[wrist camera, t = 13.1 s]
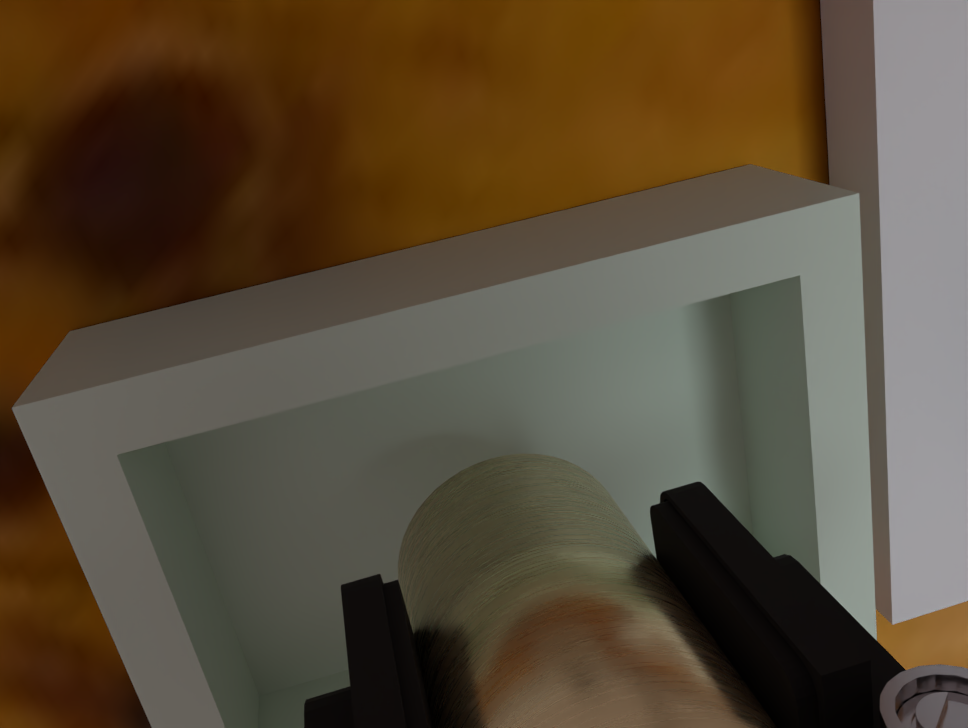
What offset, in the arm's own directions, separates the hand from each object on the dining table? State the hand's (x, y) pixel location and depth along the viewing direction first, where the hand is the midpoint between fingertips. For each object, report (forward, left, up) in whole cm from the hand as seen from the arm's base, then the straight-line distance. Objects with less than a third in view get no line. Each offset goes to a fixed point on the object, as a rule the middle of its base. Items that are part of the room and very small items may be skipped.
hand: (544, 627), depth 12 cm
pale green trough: (0, 0, -5) cm, 5 cm away
